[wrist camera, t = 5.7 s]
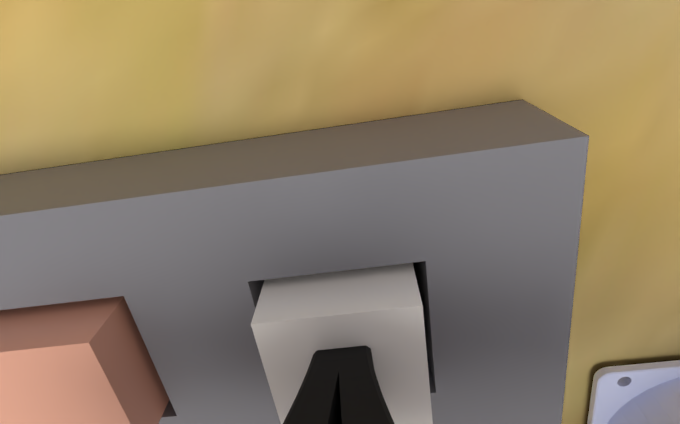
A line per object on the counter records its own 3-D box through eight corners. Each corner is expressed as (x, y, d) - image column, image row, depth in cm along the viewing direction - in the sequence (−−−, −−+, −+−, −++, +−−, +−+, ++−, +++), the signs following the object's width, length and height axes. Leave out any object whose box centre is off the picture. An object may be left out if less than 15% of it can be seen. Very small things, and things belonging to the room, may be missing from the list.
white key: (403, 224, 13) (422, 305, 10) (413, 325, 15) (433, 427, 11) (276, 240, 14) (250, 324, 10) (300, 337, 15) (285, 439, 12)
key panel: (522, 99, 13) (588, 135, 9) (515, 351, 17) (559, 443, 14) (-81, 186, 15) (-222, 246, 11) (47, 396, 19) (-25, 489, 15)
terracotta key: (156, 255, 14) (88, 342, 10) (192, 349, 16) (145, 452, 12) (41, 269, 14) (-63, 359, 11) (88, 360, 16) (12, 463, 12)
